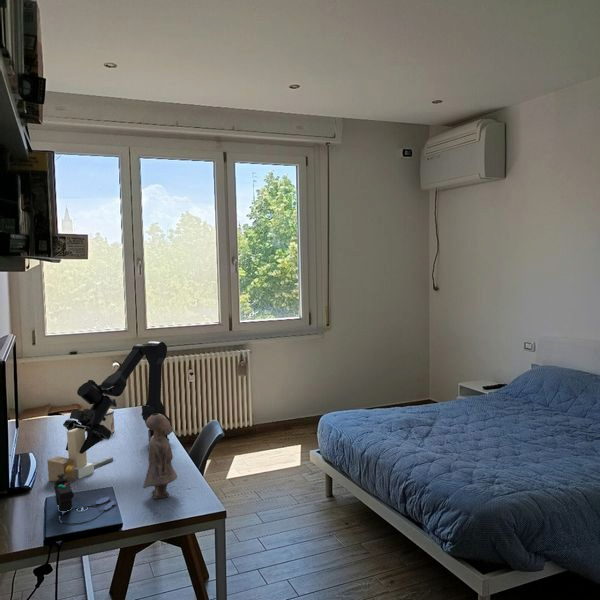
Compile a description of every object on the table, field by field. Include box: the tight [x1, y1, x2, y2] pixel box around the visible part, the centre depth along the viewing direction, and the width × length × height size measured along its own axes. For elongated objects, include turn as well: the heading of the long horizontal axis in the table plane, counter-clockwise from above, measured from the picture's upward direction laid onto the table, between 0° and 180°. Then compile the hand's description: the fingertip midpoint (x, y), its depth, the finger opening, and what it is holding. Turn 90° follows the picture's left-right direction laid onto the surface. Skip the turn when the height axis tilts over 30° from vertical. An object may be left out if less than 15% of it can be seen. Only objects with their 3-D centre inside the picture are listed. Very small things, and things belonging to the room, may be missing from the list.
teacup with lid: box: [100, 408, 115, 434], centre depth 236 cm, size 12×9×12 cm
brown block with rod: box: [47, 455, 114, 483], centre depth 190 cm, size 22×8×7 cm, turn 150°
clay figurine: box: [142, 413, 178, 499], centre depth 167 cm, size 13×10×25 cm
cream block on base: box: [66, 428, 95, 479], centre depth 188 cm, size 6×8×15 cm
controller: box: [52, 474, 75, 511], centre depth 158 cm, size 4×12×10 cm, turn 32°
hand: (73, 451), depth 187 cm, fingers open, 7 cm apart
